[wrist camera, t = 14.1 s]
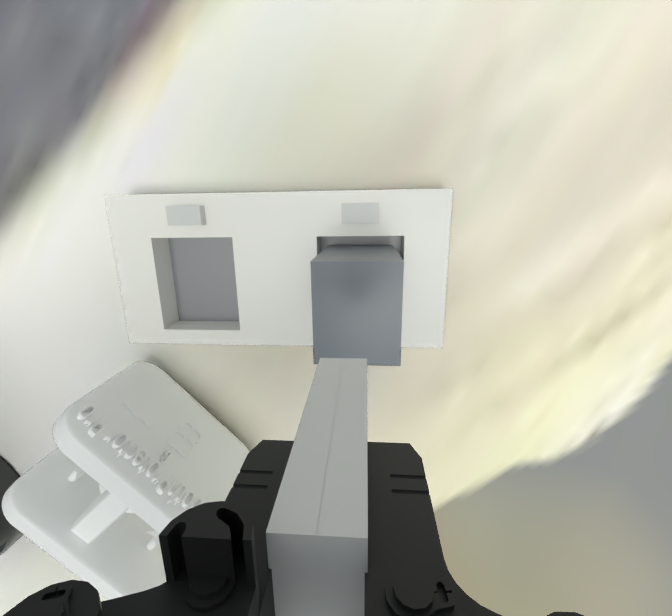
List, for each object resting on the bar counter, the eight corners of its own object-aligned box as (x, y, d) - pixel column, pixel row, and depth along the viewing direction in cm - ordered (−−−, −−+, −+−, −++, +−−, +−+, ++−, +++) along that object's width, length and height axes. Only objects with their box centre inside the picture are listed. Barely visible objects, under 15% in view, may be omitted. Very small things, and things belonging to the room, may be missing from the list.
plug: (331, 314, 31) (313, 364, 21) (329, 243, 30) (310, 261, 20) (389, 314, 31) (400, 365, 21) (391, 243, 29) (403, 261, 19)
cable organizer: (92, 413, 37) (-26, 500, 26) (153, 348, 35) (52, 414, 24) (200, 506, 39) (134, 624, 28) (265, 451, 37) (221, 557, 26)
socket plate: (152, 329, 34) (123, 346, 30) (132, 196, 31) (96, 194, 27) (434, 333, 32) (444, 352, 28) (442, 190, 29) (455, 187, 25)
